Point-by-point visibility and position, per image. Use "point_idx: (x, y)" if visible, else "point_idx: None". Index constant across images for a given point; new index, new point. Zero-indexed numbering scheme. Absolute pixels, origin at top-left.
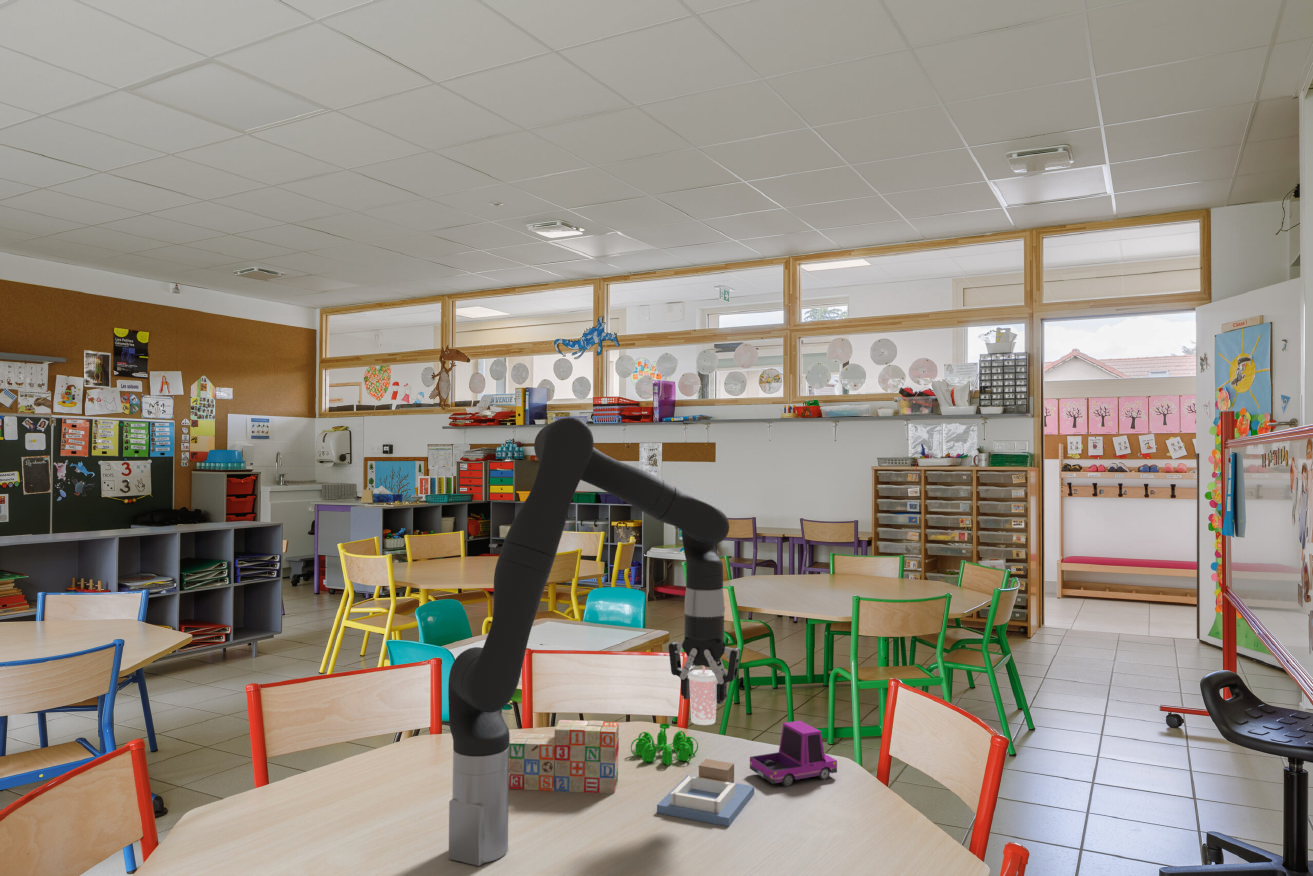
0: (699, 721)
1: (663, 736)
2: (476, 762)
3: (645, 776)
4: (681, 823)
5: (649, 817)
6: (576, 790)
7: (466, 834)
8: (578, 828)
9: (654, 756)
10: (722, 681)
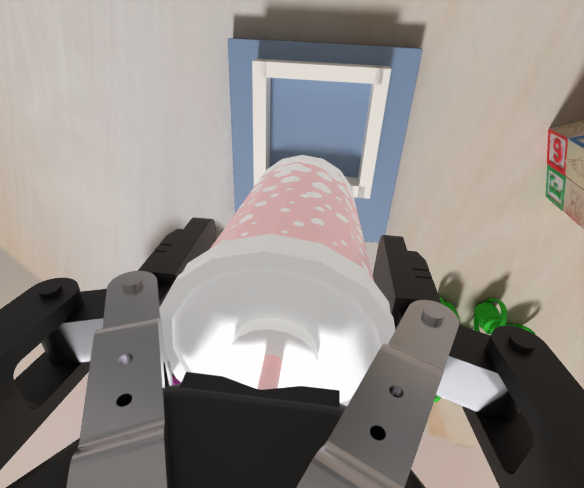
0: (303, 158)
1: None
2: None
3: (480, 240)
4: (344, 9)
5: (433, 13)
6: None
7: None
8: None
9: (475, 322)
10: (120, 282)
